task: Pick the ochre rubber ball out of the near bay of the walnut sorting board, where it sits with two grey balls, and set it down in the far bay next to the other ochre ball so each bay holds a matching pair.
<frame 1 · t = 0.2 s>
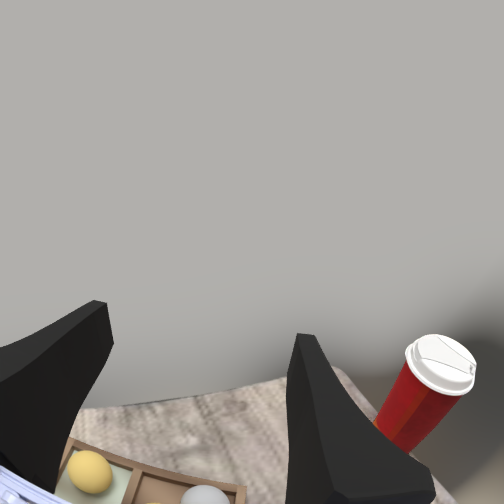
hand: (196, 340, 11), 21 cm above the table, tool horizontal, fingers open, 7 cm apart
ochre ball B: (94, 481, 20), point 1 cm above the table, touching sorting board
paper cup: (384, 445, 30), on the table
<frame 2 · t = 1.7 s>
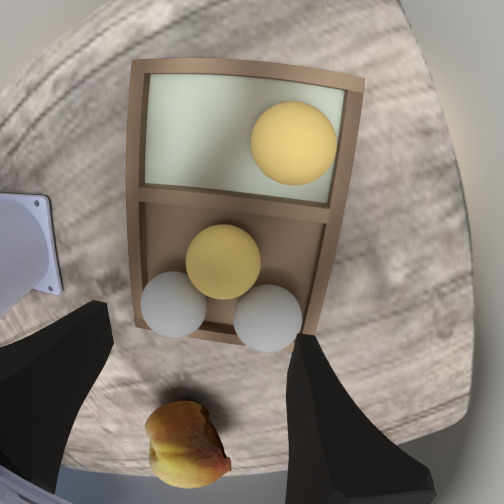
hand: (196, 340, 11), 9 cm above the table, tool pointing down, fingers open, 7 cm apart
sorting board: (232, 211, 19), on the table
ochre ball B: (292, 139, 16), point 1 cm above the table, touching sorting board
grey ball 2: (268, 299, 20), resting on sorting board
fruit: (196, 409, 27), on the table
ochre ball A: (228, 246, 19), resting on sorting board
grey ball 1: (182, 287, 21), resting on sorting board
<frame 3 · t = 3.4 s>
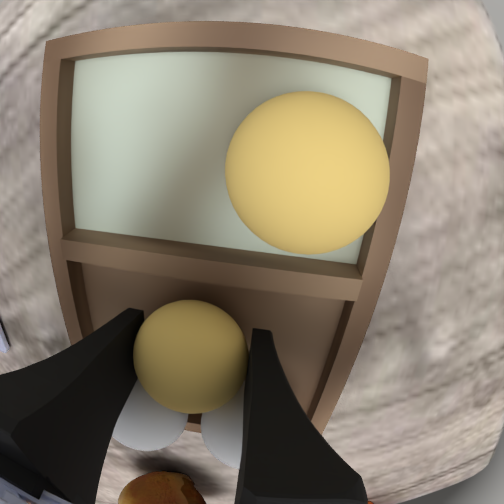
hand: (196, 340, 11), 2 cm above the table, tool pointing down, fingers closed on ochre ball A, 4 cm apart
sorting board: (206, 272, 12), on the table
ochre ball B: (302, 160, 9), point 1 cm above the table, touching sorting board
grey ball 2: (262, 389, 14), point 1 cm above the table, tilted 16°, touching sorting board
fruit: (180, 475, 20), on the table
ochre ball A: (202, 323, 12), resting on sorting board, touching gripper
grey ball 1: (143, 369, 14), point 1 cm above the table, tilted 21°, touching sorting board
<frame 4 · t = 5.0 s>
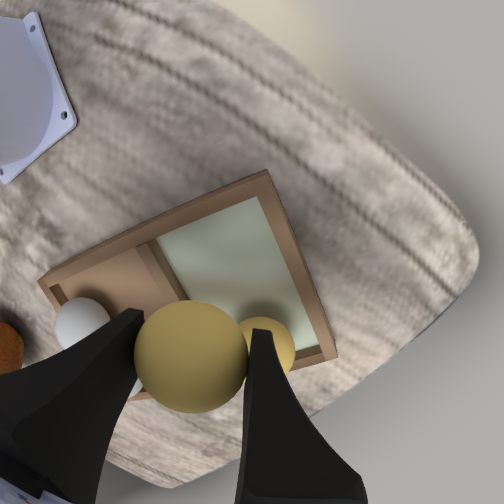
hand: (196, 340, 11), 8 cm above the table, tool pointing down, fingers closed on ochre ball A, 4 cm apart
sorting board: (179, 309, 20), on the table
ochre ball B: (262, 329, 20), point 1 cm above the table, touching sorting board
fruit: (16, 336, 24), on the table
ochre ball A: (203, 323, 13), point 6 cm above the table, touching gripper
grey ball 1: (93, 302, 20), point 1 cm above the table, tilted 27°, touching sorting board
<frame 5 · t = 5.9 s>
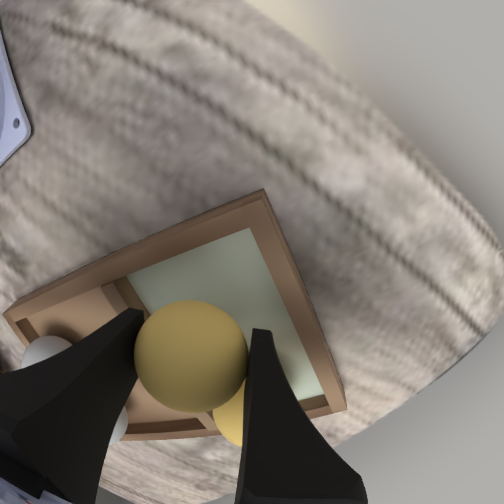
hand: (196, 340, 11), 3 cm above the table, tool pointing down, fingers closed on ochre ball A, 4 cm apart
sorting board: (160, 353, 16), on the table
ochre ball B: (257, 379, 16), point 1 cm above the table, touching sorting board
grey ball 2: (117, 402, 18), point 1 cm above the table, tilted 23°, touching sorting board
ochre ball A: (203, 323, 13), point 2 cm above the table, touching gripper
grey ball 1: (64, 340, 16), point 1 cm above the table, tilted 26°, touching sorting board
when the fingers open (3 cm above the table, at t = 6.5 s): ochre ball A drops 2 cm, resting on sorting board.
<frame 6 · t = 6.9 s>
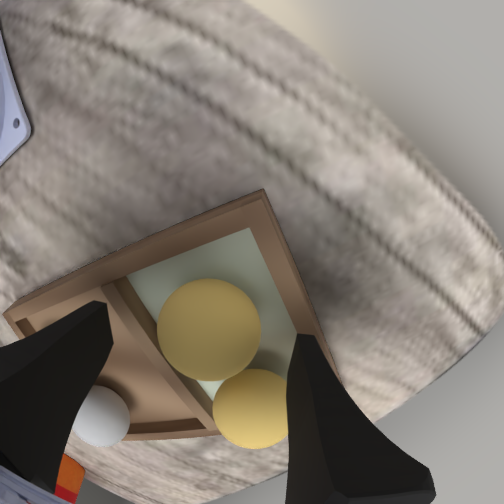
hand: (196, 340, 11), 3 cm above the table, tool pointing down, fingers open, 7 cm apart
sorting board: (160, 353, 16), on the table
ochre ball B: (257, 379, 16), point 1 cm above the table, touching sorting board
grey ball 2: (117, 402, 18), point 1 cm above the table, tilted 22°, touching sorting board
paper cup: (65, 459, 27), on the table
ochre ball A: (210, 301, 14), point 1 cm above the table, tilted 10°, touching sorting board
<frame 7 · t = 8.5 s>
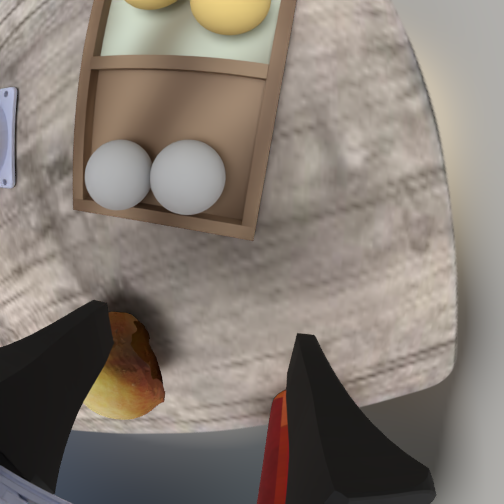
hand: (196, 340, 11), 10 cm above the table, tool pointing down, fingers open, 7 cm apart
sorting board: (177, 81, 17), on the table
ochre ball B: (235, 11, 14), point 1 cm above the table, touching sorting board
grey ball 2: (208, 174, 18), point 1 cm above the table, tilted 22°, touching sorting board
paper cup: (302, 403, 27), on the table
fruit: (137, 332, 25), on the table
ochre ball A: (145, 4, 13), point 1 cm above the table, tilted 49°, touching sorting board
grey ball 1: (121, 163, 18), point 1 cm above the table, tilted 23°, touching sorting board
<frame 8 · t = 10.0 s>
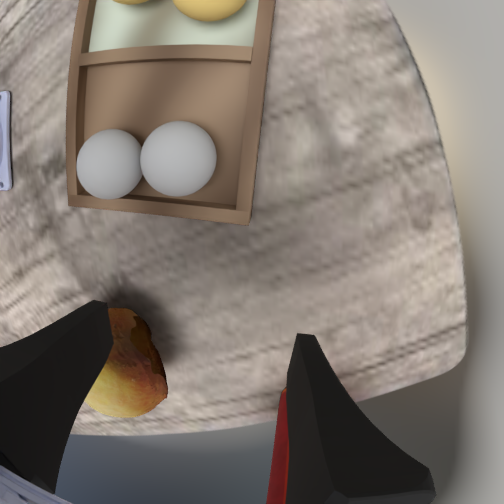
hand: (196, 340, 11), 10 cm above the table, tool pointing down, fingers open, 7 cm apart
sorting board: (164, 71, 16), on the table
grey ball 2: (199, 160, 18), point 1 cm above the table, tilted 24°, touching sorting board
paper cup: (312, 395, 26), on the table
fruit: (139, 329, 25), on the table
ochre ball A: (129, 0, 13), point 1 cm above the table, tilted 48°, touching sorting board
grey ball 1: (114, 156, 18), point 1 cm above the table, tilted 22°, touching sorting board
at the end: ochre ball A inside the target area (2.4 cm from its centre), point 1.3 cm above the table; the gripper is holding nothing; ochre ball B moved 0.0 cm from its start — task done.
